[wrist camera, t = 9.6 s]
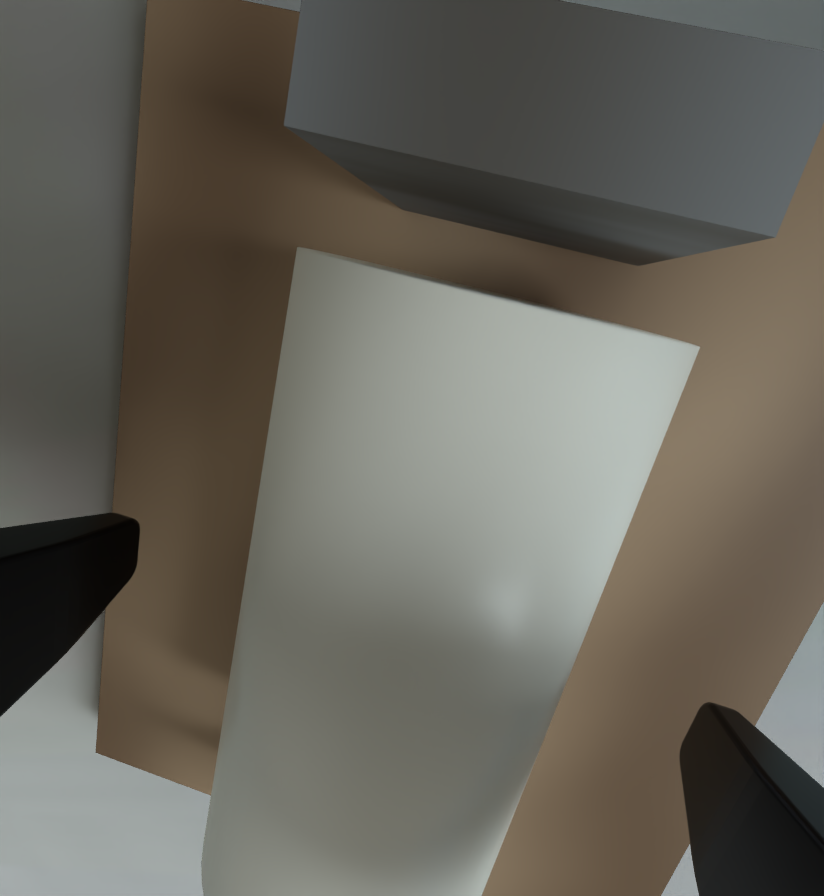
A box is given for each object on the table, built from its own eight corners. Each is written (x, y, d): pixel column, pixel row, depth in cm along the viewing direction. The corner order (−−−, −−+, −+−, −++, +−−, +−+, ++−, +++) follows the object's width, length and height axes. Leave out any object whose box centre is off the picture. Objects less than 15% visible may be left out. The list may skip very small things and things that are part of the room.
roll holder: (1004, 180, 8) (1973, -39, 3) (622, 906, 14) (695, 1336, 8) (183, 10, 10) (-255, -357, 4) (121, 723, 15) (-112, 979, 10)
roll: (651, 331, 9) (778, 370, 4) (487, 777, 12) (456, 1083, 7) (366, 260, 10) (208, 228, 5) (280, 699, 13) (132, 935, 8)
